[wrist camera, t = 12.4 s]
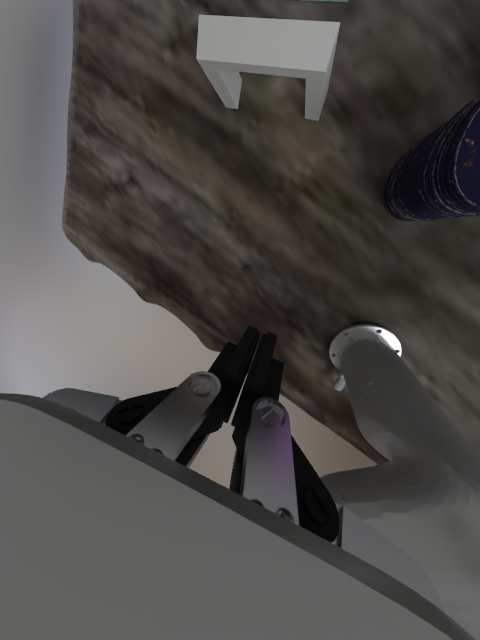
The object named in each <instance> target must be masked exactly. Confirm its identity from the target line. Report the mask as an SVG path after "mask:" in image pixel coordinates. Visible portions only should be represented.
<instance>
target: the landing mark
mask: <svg viewBox="0 0 480 640" xmlns="http://www.w3.org/2000/svg"><path fill="white" fill-rule="evenodd" d="M301 1H329V2H348V1H349V0H301Z"/></svg>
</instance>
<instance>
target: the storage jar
mask: <svg viewBox="0 0 480 640" xmlns="http://www.w3.org/2000/svg"><path fill="white" fill-rule="evenodd" d="M383 202H384V205H385V208H386V210H387V211H388V213H389V214H391V215H392V216H393V217H395V218H397V219H399V220H403V221H427V220H437V219H441V218H445V217H470V216H479V215H480V95H479V96H478V97H476V98H475V99H474V100H472V101H471V102H469V103H468V104H467V105H466V106H465V107H463V108H462V109H461V110H460V111H459V112H458V113H457V114H456V115H455V116H454V117H453V118H452V119H451V120H450V121H449V122H447V123H445V124H444V125H442V126H441V127H439V128H438V129H436V130H435V131H433V132H432V133H430V134H429V135H427V136H426V137H424V138H423V139H422V140H420V141H419V142H418V143H417V144H416V145H415V146H413V147H412V148H411V149H410V150H409V151H408V152H407V153H405V154H404V155H403V156H402V157H401V158H400V159H399V160H398V161H397V163H396V164H395V165H394V167H393V168H392V170H391V171H390V173H389V175H388V177H387V179H386V182H385V185H384V189H383Z"/></svg>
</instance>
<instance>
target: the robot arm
mask: <svg viewBox="0 0 480 640" xmlns="http://www.w3.org/2000/svg"><path fill="white" fill-rule="evenodd" d="M378 329H379V330H378ZM257 330H258V329H257V328H254V327H251V326H248V328H247V329H246V331H245V333H244V335H243V336H242V338H241V340H240V342H239V343H238V345H235V344H232V343H230V342H228V343H227V344H226V345H225V347H224V348H223V350H222V351H221V353H220V354H219V356H218V357H217V359H216V360H215V362H214V363H213V365H212V366H211V368H210V369H209V370H208V372H204V371H201V372H196V373H193V374H192V375H190V376H189V377H188V378H187V379H186V380H185V381H183V382H182V383H181V384H180V385H179V386H178V387H174V388H170V389H166V390H162V391H158V392H153V393H150V394H145V395H141V396H137V397H133V398H129V399H126V400H123V401H122V400H119V397H115V396H110V395H104V394H99V393H93V392H89V391H83V390H78V389H73V388H71V389H70V388H65V389H60V390H57V391H54V392H52V393H49V394H48V395H46V396H45V397H43V398H40V397H35V396H30V395H22V394H6V393H5V394H4V393H0V640H480V454H479V453H478V452H477V451H476V449H475V448H474V447H473V446H472V445H471V444H470V443H469V442H468V441H467V439H466V438H465V437H464V436H463V435H462V433H461V432H460V431H459V430H458V429H457V428H456V426H455V425H454V424H453V423H452V422H451V420H450V419H449V418H448V417H447V416H446V414H445V413H444V412H443V411H442V409H441V408H440V407H439V405H438V404H437V403H436V402H435V401H434V399H433V398H432V397H431V396H430V394H429V393H428V392H427V391H426V389H425V388H424V387H423V385H422V384H421V383H420V382H419V380H418V379H417V378H416V377H415V375H414V374H413V373H412V371H411V370H410V369H409V368H408V366H407V365H406V364H405V363H404V361H403V360H402V359H401V353H402V348H401V344H400V342H399V340H398V338H397V337H396V336H395V335H394V334H393V333H392V332H391V331H390V330H388V329H386V328H384V327H382V326H379V325H374V324H358V325H354V326H350V327H348V328H345V329H343V330H342V331H340V332H339V333H338V334H337V335H336V336H335V337H334V338H333V339H332V341H331V343H330V346H329V355H330V359H331V361H332V363H333V364H334V366H335V367H336V368H337V369H339V370H340V372H339V374H338V375H339V377H338V379H337V380H336V381H335V383H334V384H333V387H334V388H335V389H336V390H338V391H341V390H342V389H343V388H344V386H345V385H346V387H347V390H348V394H349V397H350V401H351V404H352V408H353V411H354V415H355V418H356V421H357V424H358V427H359V429H360V431H361V433H362V434H363V436H364V437H365V439H366V440H367V441H368V442H369V443H370V444H371V445H372V446H373V447H374V448H375V449H376V450H377V451H379V452H380V453H381V454H382V455H383V456H385V457H386V458H388V459H389V460H390V462H388V463H385V464H381V465H376V466H373V467H367V468H360V469H353V470H347V471H341V472H335V473H331V474H327V475H324V476H322V477H320V478H319V476H318V475H317V473H316V471H315V470H314V469H313V467H312V465H311V464H310V462H309V461H308V459H307V458H306V456H305V455H304V453H303V452H302V451H301V449H300V447H299V446H298V444H297V443H296V441H295V440H294V438H293V437H292V435H291V430H290V419H289V415H288V412H287V410H286V409H285V407H284V406H283V405H282V404H281V403H280V402H278V401H279V394H280V387H281V379H282V372H283V365H284V363H283V362H281V361H278V360H275V359H273V358H272V355H273V351H274V347H275V343H276V339H277V335H274V334H271V333H269V332H268V334H264V333H263V336H262V339H261V341H260V344H259V346H258V349H257V352H256V354H255V357H254V360H253V362H252V365H251V367H250V364H251V360H252V357H253V354H254V351H255V348H256V345H257V342H258V339H259V336H260V333H261V332H258V331H257ZM249 367H250V370H249V373H248V375H247V372H248V369H249ZM246 375H247V378H246V381H245V383H244V386H243V390H242V393H241V395H240V399H239V402H238V405H237V408H236V411H235V414H234V417H233V420H232V423H231V425H232V426H234V427H235V429H234V432H233V435H232V438H233V440H234V443H235V445H236V451H235V456H234V462H233V469H232V475H231V481H230V487H229V489H228V488H226V487H224V486H222V485H220V484H218V483H216V482H214V481H212V480H210V479H208V478H206V477H205V476H203V475H200V474H199V473H197V472H195V471H193V470H191V469H189V467H190V465H191V463H192V462H193V460H194V459H195V457H196V456H197V454H198V453H199V451H200V449H201V448H202V446H203V445H204V443H205V442H206V440H207V439H208V436H209V434H210V433H213V432H215V431H218V430H219V428H221V426H222V424H223V422H225V423H228V421H229V418H230V416H231V413H232V411H233V408H234V406H235V403H236V400H237V398H238V395H239V393H240V390H241V388H242V385H243V382H244V380H245V377H246Z"/></svg>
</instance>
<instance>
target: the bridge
mask: <svg viewBox="0 0 480 640" xmlns="http://www.w3.org/2000/svg"><path fill="white" fill-rule="evenodd" d="M339 27H340V22H324V21H306V20H287V19H268V18H249V17H231V16H212V15H199V25H198V41H197V58H196V59H197V61H198V63H199V64H200V66H201V67H202V69H203V71H204V72H205V74H206V76H207V77H208V79H209V81H210V82H211V84H212V85H213V87H214V89H215V90H216V92H217V94H218V95H219V97H220V99H221V100H222V102H223V104H224V105H225V107H226V108H232V109H238V104H239V98H240V91H241V84H242V79H241V77H240V74H239V72H249V73H258V74H267V75H277V76H286V77H296V78H305V79H306V91H305V119H309V120H316V121H319V118H320V115H321V111H322V108H323V105H324V102H325V98H326V95H327V92H328V87H329V82H330V76H331V71H332V65H333V60H334V54H335V49H336V43H337V38H338V32H339ZM238 71H239V72H238Z"/></svg>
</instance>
